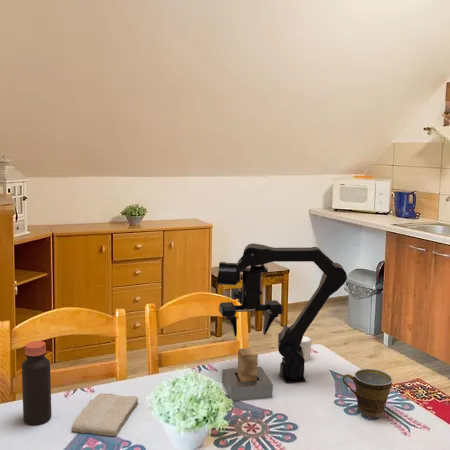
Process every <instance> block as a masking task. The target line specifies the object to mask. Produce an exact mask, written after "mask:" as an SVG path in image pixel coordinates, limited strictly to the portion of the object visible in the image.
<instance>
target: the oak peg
mask: <svg viewBox="0 0 450 450" xmlns="http://www.w3.org/2000/svg"><path fill="white" fill-rule="evenodd" d="M258 360H259V354H258V352H257V351H256V349H255V348H254V347H245V348H238V349H237V368H238V372H237V379H238V381H239V382H248V381H257V367H258V363H259V361H258Z"/></svg>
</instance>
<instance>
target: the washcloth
mask: <svg viewBox="0 0 450 450" xmlns="http://www.w3.org/2000/svg"><path fill="white" fill-rule="evenodd" d="M138 405H139V397H138V396H135V395H119V394H114V393H106V392H105V393H103V392H102V393H98V394H97V395H96V396H95V397H94V398H93V399H90V400H89V401H88V403H86V406H85V407H84V408H83V409H82V410H81V411H80V412H79V414H78V416H77V417H76V418H74V420H73V423H72V425H71V431H72V432H74V433H82V434H94V435H95V434H96V435H97V436H99V435H100V436H107V437H109V436H110V437H116V436H118V434H119V433H120V432H121V430H122V429H123V426H124V425H125V424H126V422H127V421H128V420H129V418H130V416H131V415H132V412H133V411H135V409H136V408H137V407H138Z"/></svg>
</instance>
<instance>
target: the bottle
mask: <svg viewBox="0 0 450 450" xmlns="http://www.w3.org/2000/svg"><path fill="white" fill-rule="evenodd" d="M24 354H25V357H26V359H24V361H23V362H22V363H21V386H22V388H21V389H22V414H23V416H22V417H23V422H24V423H25V424H27V425H30V426H38V425H43V424H45V423H48V422H49V421H50V420H51V418H52V385H51V384H52V383H51V380H52V379H51V361H50V359H48V358H47V357H46V356H45V355H46V354H47V343H46V342H45V341H43V340H33V341H30V342H27V343H26V344H25V345H24Z"/></svg>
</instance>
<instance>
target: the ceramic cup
mask: <svg viewBox="0 0 450 450" xmlns="http://www.w3.org/2000/svg"><path fill="white" fill-rule="evenodd" d="M353 375H354V376H353ZM353 375H352V374H349V373H348V374H345V375H343V376H342V382H343V384H344V385H345V386H346V387H348V389H350V391H351V392H352V393H353V394H354V396H355V397H356V403H357V411H358V412H359V413H360V414H361V415H363V416H365V417H368V418H369V417H370V418H378V417H379V418H380V417H382V416H383V415H384V412H385V408H386V404H387V401H388V398H389V395H390V393H391V390H392V386H393V382H394V380H393V377H392V376H391V375H390V374H389V373H387V372H384V371H382V370H378V369H375V368H374V369H372V368H363V369H362V368H361V369H359V370H356V371H355V372H354V374H353ZM345 378H349V379H351V380H352V382H353V384H354V386H355V390H353V388H352V387H351V386H350V384H348V383H346V382H347V381H345Z"/></svg>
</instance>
